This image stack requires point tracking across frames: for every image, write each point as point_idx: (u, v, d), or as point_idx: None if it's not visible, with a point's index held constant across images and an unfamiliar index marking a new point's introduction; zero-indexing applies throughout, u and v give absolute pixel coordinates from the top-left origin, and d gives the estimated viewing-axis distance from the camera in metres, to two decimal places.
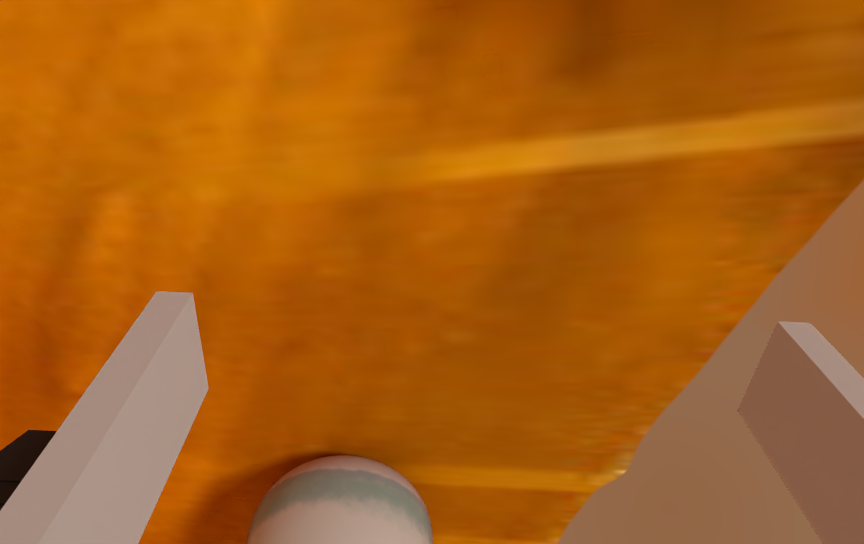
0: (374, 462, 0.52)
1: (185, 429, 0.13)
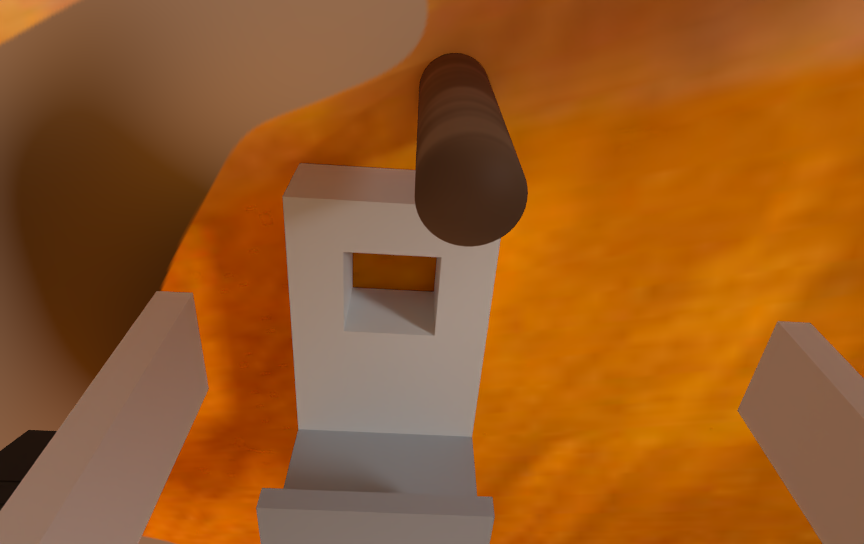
0: None
1: (185, 429, 0.13)
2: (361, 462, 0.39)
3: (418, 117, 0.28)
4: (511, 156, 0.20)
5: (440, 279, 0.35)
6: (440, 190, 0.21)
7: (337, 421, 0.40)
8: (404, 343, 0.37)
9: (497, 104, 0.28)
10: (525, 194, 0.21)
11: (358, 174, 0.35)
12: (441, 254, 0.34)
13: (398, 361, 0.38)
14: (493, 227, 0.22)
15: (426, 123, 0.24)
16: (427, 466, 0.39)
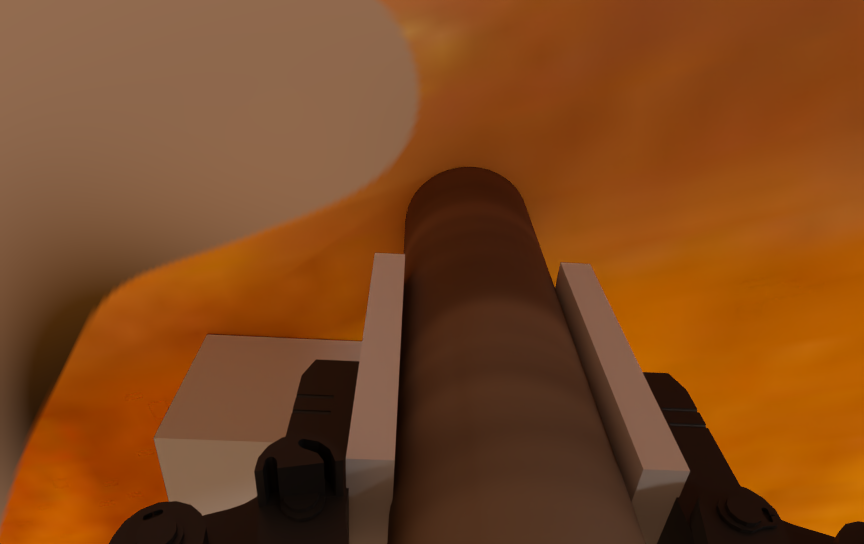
0: None
1: None
2: None
3: None
4: None
5: None
6: None
7: None
8: None
9: (564, 318, 0.13)
10: None
11: (303, 361, 0.21)
12: None
13: None
14: None
15: (413, 436, 0.10)
16: None
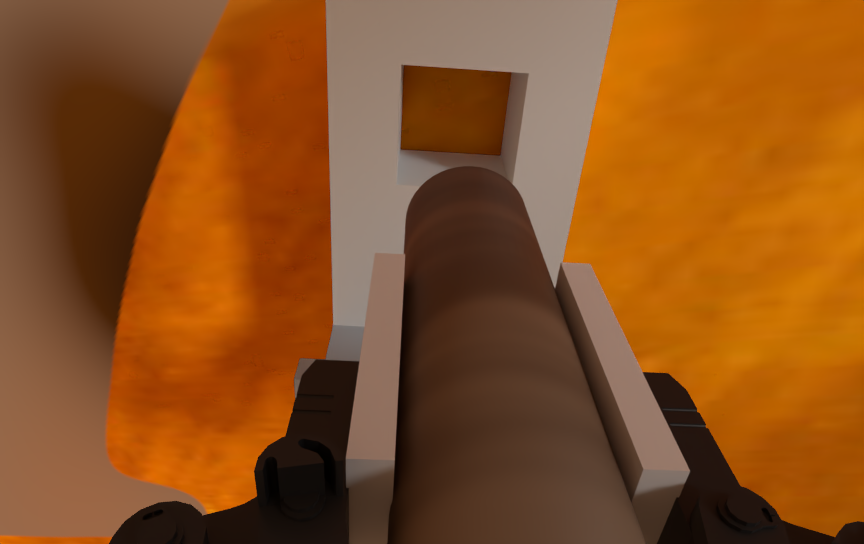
0: None
1: None
2: None
3: None
4: None
5: (524, 107, 0.27)
6: None
7: None
8: None
9: (563, 316, 0.13)
10: None
11: None
12: (529, 68, 0.26)
13: None
14: None
15: (413, 433, 0.10)
16: None
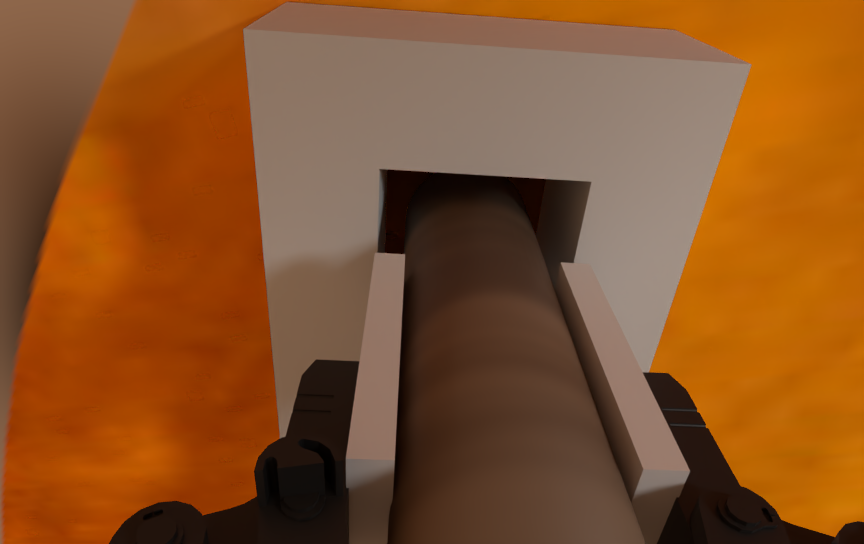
0: None
1: None
2: None
3: None
4: None
5: (581, 231, 0.16)
6: None
7: None
8: None
9: (562, 312, 0.13)
10: None
11: (407, 16, 0.17)
12: (592, 174, 0.16)
13: None
14: None
15: (414, 426, 0.10)
16: None
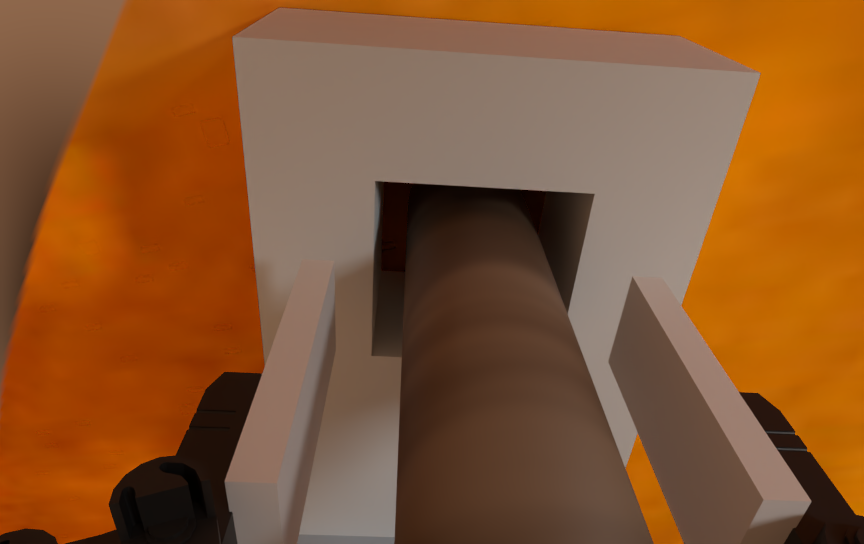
0: None
1: (328, 382, 0.14)
2: None
3: (404, 306, 0.15)
4: None
5: (584, 245, 0.16)
6: None
7: (354, 520, 0.22)
8: None
9: (555, 283, 0.14)
10: None
11: (403, 23, 0.16)
12: (595, 186, 0.15)
13: None
14: None
15: (420, 378, 0.11)
16: None
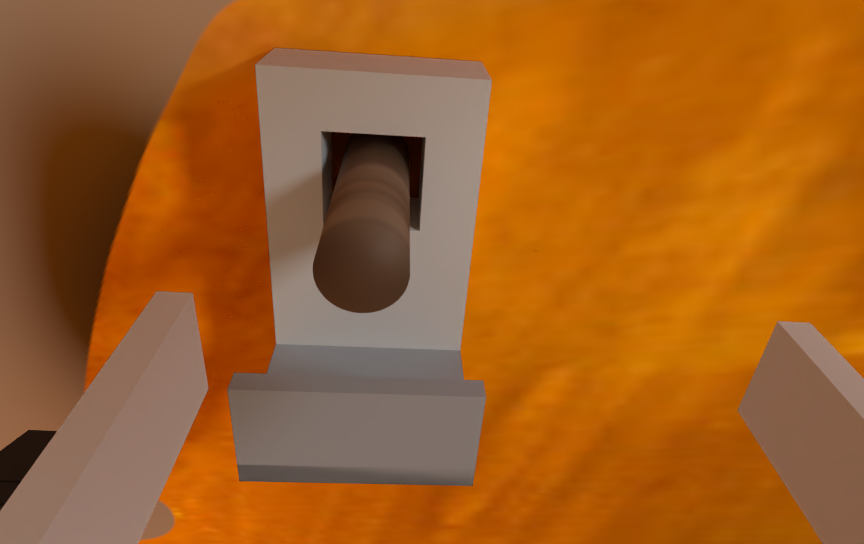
0: None
1: (185, 429, 0.13)
2: (343, 372, 0.36)
3: None
4: (393, 239, 0.24)
5: (424, 164, 0.33)
6: (334, 268, 0.24)
7: (317, 334, 0.38)
8: None
9: (404, 177, 0.31)
10: (408, 270, 0.24)
11: (336, 56, 0.33)
12: (425, 133, 0.32)
13: None
14: (383, 297, 0.25)
15: (333, 201, 0.28)
16: (414, 375, 0.36)
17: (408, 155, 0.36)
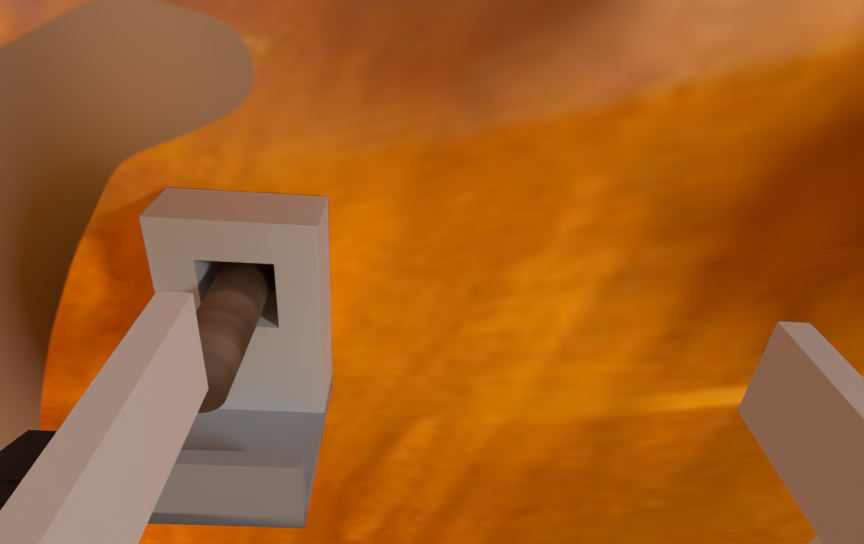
0: None
1: (185, 429, 0.13)
2: (225, 433, 0.47)
3: None
4: (211, 367, 0.34)
5: (276, 281, 0.43)
6: None
7: None
8: (255, 334, 0.45)
9: (254, 296, 0.41)
10: (225, 386, 0.35)
11: (211, 197, 0.43)
12: (273, 261, 0.42)
13: (253, 348, 0.46)
14: (211, 403, 0.35)
15: None
16: (280, 436, 0.47)
17: None
